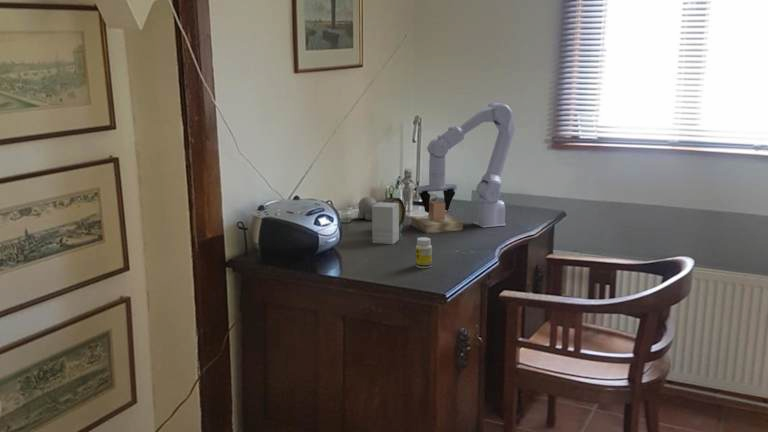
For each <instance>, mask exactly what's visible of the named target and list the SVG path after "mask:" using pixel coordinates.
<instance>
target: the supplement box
mask: <svg viewBox="0 0 768 432" xmlns="http://www.w3.org/2000/svg"><path fill="white" fill-rule="evenodd" d="M371 225H372V227H371V229H372V231H371V233H372V234H371V235H372V237H371V238H372V243H373V244H385V245H386V244H387V245H394V244H395V243H396V242H398V241H399V240H400V228H399V203H386V202H381V201H378V202H377V203H376V204H375V205H373V206H372V219H371Z"/></svg>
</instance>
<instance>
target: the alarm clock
mask: <svg viewBox="0 0 768 432" xmlns="http://www.w3.org/2000/svg"><path fill="white" fill-rule="evenodd" d="M391 188H392V192H390V190H391ZM394 188H395V186H393V185H391V186H389V188H388V194H389V196H390V197H386V198H384V200H382V201H383V202H386V203H399V229H402V227H401V226H402V225H403V223H404V220H405V216H406V215H405V208H404V202H403V200H402V199H401V198H399V197H394V195H393V194H394V191H395V189H394Z"/></svg>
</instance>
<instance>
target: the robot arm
mask: <svg viewBox="0 0 768 432" xmlns="http://www.w3.org/2000/svg"><path fill="white" fill-rule="evenodd" d="M513 116H514V111H512V109H511V108H510V106H509V105H507V104H505V103H499V102H496V101H493V102H490V103H489V104H488V105H486V106H484V107H482V108H481V109H480V110H479V111H478V112H476V113H475V114H474V115H473V116H471V117H470V118H468V119H467V120H466V121H465V122H464V123H462V124H461V125H460V126H457V125H454V126H449V127H448V128H447V129H448V130H446V131H445V132H444V133H442V134H441V135H438V136H437V138H436V139H432V140H430V141H429V143H428V145H427V147H426V149H427V151H428V153H429V160H428V163H429V165H428V185H421V186H418V187H416V189H417V190H416V192H417V193H418V195H419V196H420V199H421V201H422V204H423V209H424V212H425V213H428V212H429V202H431V201H430V199H431V194H430V193H431V192H443V199H444V200H443V202H444V203H445V212H448V211H449V209H450V205H451V204H452V203H451V202H452V200H453V198H454V197H455V195H456V191H457V184H455V183H449V184H446V155H447V154H448V152H449V150H451V149H452V148H453V147H455V146H456V145H458V144H460V142H462V141H463V140H464V139H465V135H466V134H468V133H469V132H471V131H472V130H474V129H475V128H476V127H478V126H480V125H481V124H483V123H490V122H492V123H494V125H495V127H496V128H497V130H498V134H497V137H496V140H495V143H494V146H493V149H492V153H491V157H490V159H489V162H488V166H487V168H486V171H485V174H484V175H482V177H481V180H480V181H479V182H478V184H477V185H476V190H475V191H476V194H477V195H478V200H477V221H473V222H472V224H474V225H476V226H479V227H481V228H493V227H495V228H496V227H505V226H506V223H505V221H506V205H505V202H504V200H502V199H501V200H499V199H500V197H501V195H502V192H501V186H502V179H501V175H502V172H503V171H504V170H503V169H504V167H505V163H506V159H507V156H508V153H509V150H510V147H511V145H512V140H513V137H514V134H515V129H516V128H515V122H514V117H513ZM429 192H430V193H429Z"/></svg>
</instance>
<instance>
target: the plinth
mask: <svg viewBox="0 0 768 432" xmlns="http://www.w3.org/2000/svg"><path fill="white" fill-rule="evenodd" d="M463 224H464V221H462V220H460V219H458V218H456V217H454V216H452V215H449V214H448V213H445V220H435V221H433V220H431V219H429V218H428V215H418V216H417V215H416V216H411V217H410V225H411V226H412V227H414V228H416V229H418V230H420V231H421V232H423V233H425V234H436V233H443V232H445V233H447V232H455V231H463V230H464V229H463V228H464V225H463Z"/></svg>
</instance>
